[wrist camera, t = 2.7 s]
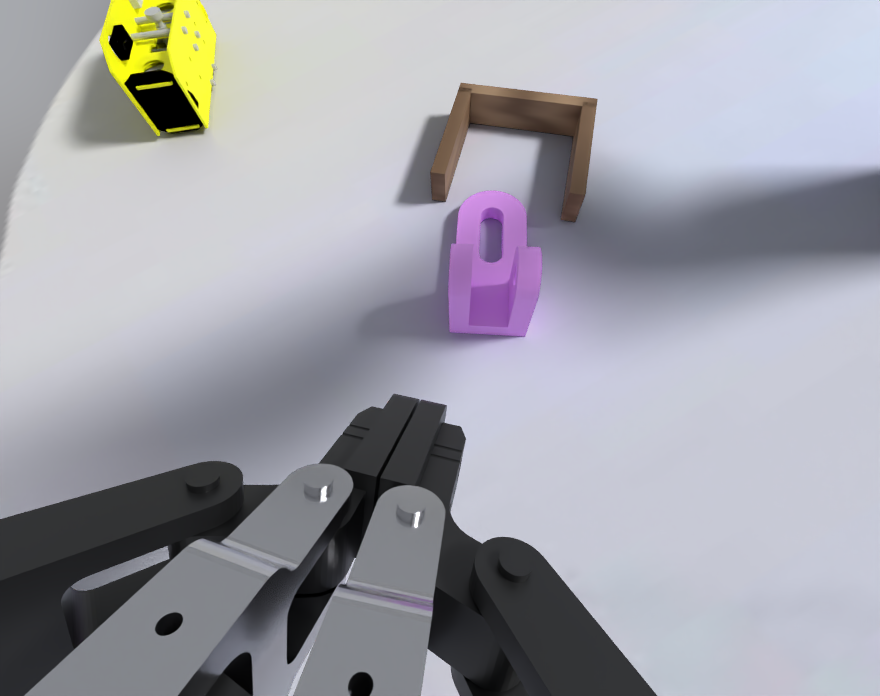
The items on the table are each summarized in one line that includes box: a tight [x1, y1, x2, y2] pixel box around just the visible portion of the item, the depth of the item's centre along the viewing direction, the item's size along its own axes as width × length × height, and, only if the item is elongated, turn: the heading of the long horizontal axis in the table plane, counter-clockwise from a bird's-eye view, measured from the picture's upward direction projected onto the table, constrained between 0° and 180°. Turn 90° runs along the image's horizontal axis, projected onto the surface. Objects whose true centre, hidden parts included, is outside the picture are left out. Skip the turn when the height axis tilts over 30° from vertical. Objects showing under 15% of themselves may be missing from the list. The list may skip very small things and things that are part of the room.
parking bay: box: [430, 83, 597, 222], centre depth 36 cm, size 12×12×3 cm
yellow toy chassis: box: [100, 0, 217, 136], centre depth 40 cm, size 16×6×8 cm, turn 10°
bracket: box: [448, 191, 542, 336], centre depth 30 cm, size 13×6×7 cm, turn 175°
